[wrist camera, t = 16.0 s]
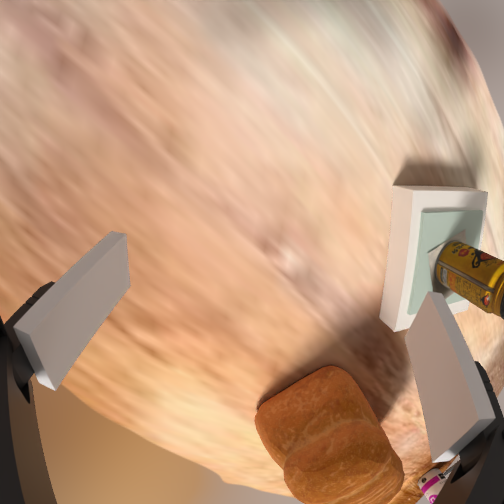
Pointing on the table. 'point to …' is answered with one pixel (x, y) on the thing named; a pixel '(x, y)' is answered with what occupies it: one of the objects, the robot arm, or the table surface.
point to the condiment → (468, 274)
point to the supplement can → (432, 484)
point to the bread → (329, 442)
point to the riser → (425, 244)
